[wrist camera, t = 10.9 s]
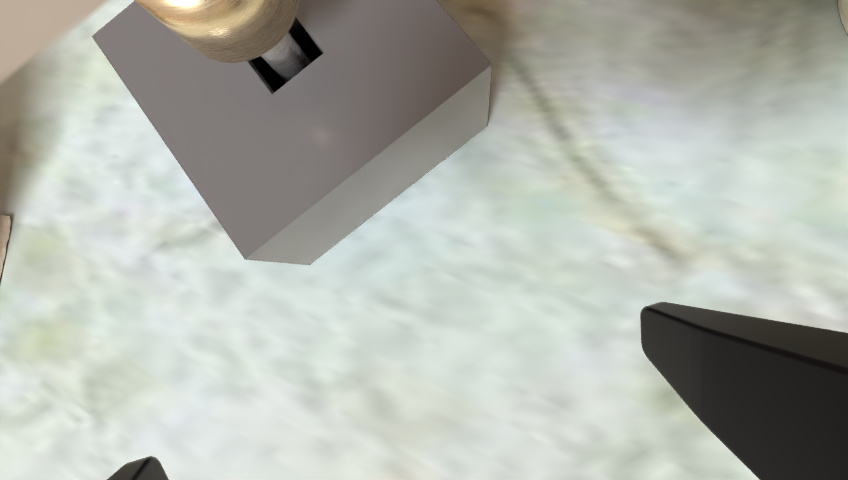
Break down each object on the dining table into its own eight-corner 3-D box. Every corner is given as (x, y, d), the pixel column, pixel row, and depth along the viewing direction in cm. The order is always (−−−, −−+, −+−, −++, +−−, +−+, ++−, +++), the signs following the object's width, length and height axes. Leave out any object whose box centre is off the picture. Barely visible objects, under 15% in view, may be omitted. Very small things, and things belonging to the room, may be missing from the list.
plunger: (385, 115, 20) (283, -73, 9) (322, 165, 20) (151, 36, 9) (339, 56, 20) (192, -184, 10) (278, 105, 20) (69, -80, 10)
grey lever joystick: (487, 125, 19) (492, 64, 14) (309, 265, 20) (245, 259, 14) (325, -69, 21) (273, -191, 15) (165, 63, 21) (59, -12, 16)
